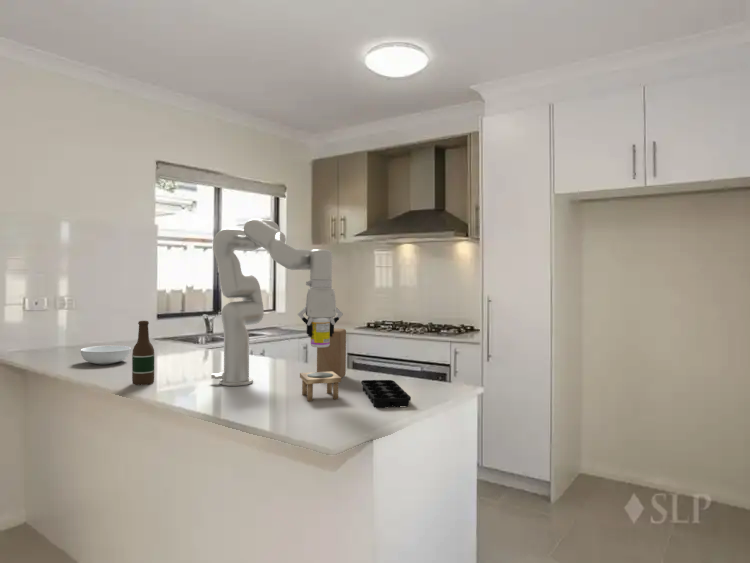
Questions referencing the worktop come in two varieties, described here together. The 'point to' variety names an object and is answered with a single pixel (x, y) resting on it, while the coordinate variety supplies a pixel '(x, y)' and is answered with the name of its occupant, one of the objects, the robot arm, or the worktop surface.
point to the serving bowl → (105, 354)
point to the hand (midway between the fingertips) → (320, 335)
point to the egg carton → (385, 393)
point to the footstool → (317, 378)
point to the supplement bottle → (320, 332)
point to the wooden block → (333, 354)
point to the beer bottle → (143, 357)
